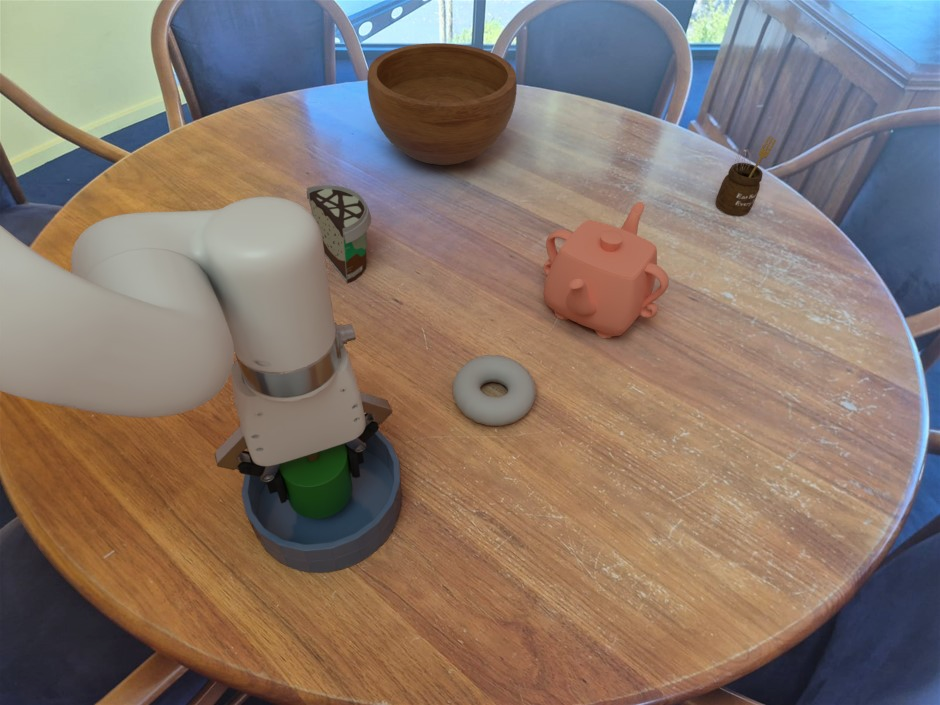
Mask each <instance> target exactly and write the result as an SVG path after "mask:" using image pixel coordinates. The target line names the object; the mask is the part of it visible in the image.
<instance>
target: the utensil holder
mask: <svg viewBox="0 0 940 705" xmlns="http://www.w3.org/2000/svg"><path fill="white" fill-rule="evenodd" d="M776 142H777V139H776V138H775V139H774V137H773V136H772V137H771V135H768V136H767V138H766V140H765V142H764V143H763V145H762V146H761V148H760V150H759V151H758V155H759V158H758V159H757V162H756V163H755V165H754V164H751V163H752V162H751V161H752V160H753V158H748V159H747V162H745V161H746V160H745V159H744V158H745V157H747V156H746V155H747V154H746V153H748V157H751V155H753V153H752V152H751V150H750V149H747V148H745V149H744V148H742V149H741V151H742V152H743V153H741V151H739V152H738V153H737V156H736V157H735V163H734V164H732V165H731V166H730V168H729V170H728V174H726V176H725V177H724V178H723V180H722V182H721V185H720V187H719V190H718V192H717V195H716V198H715V206H716V208H717V209H718V210H719V211H720V212H721V213H724V214H726V215H728V216H733V217H741V216H745V215H748V213H750V211H751V210H752V208H753V206H754V204H755V202H756V199H757V196H758V194H759V191H760V188H761V182H762V179H763V176H764V173H763V170H761V168H760V167H758V166H759V165H760V163H761V161H762V160H763V159H766V158H768V156H769V155H770V153H771V151H772V149H773V148H774V146H775V144H776ZM743 154H744V155H743ZM742 155H743V156H742ZM740 156H742V160H741V162H739V161H740V160H739V158H738V157H740Z"/></svg>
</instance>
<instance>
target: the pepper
mask: <svg viewBox="0 0 940 705" xmlns="http://www.w3.org/2000/svg"><path fill="white" fill-rule="evenodd" d="M279 470H280V474H281V477H282V480H283V483H284V487H285V490H286V493H287V497H288V501H289V503H290V505H291V507H292V508H293V510H294V511H295V512H296V513H298V514H299V515H301V516H303V517H306V518H310V519H322V518H326V517H330V516H332V515H334V514H336V513H337V512H339V511H340V510H341V509H343V508H344V506H345V505H346V504H347V503H348V501H349V499H350V497H351V494H352V487H353V486H352V479H351V473H350V466H349V460H348V453H347V449H346V446H345V444H341V445H338V446H335V447H332V448H328V449H325V450H322V451H319V452H316V453H313V454H310V455H307V456H303V457H300V458H297V459H294V460H291V461H287V462H284V463H281V464H280V466H279Z"/></svg>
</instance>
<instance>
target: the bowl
mask: <svg viewBox="0 0 940 705" xmlns="http://www.w3.org/2000/svg"><path fill="white" fill-rule="evenodd" d="M366 85H367V86H366V87H367V95H368V101H369V106H370V108H371V112H372V115H373V117H374V119H375V121H376V123H377V125H378V127H379V128H380V130H381V132H382V133H383V134H384V136H385V137H386V138H387V139H388V141H389V142H390V143H391V144H392V145H393V146H394V147H395V148H397V149H398V150H399V151H401V153H404V154H405V155H406V156H408V157H410V158H412V159H414V160H416V161H419V162H422V163H425V164H430V165H436V166H450V165H457V164H461V163H465V162H468V161H470V160H472V159H475V158H476V157H478V156H480V155H481V154H483V153H485V152H486V151H487V150H488V149H489V148H491V147H492V146H493V145H494V144H495V143H496V142H497V140H498V139H500V137H501V135H502V134H503V133H504V131H505V129H506V127H507V126H508V124H509V122H510V120H511V117H512V115H513V113H514V112H513V111H514V108H515V104H516V98H517V92H518V91H517V90H518V81H517V73H516V70H515V69H514V66H512V64H511V63H510V62H509V61H507V60H506V59H505V58H503V57H502V56H499V55H497V54H496V53H493V52H491V51H488V50H486V49H482V48H479V47H475V46H470V45H464V44H457V43H456V44H455V43H445V42H438V43H437V42H433V43H432V42H430V43H418V44H411V45H406V46H402V47H398V48H395V49H391V50H389V51H386V52H384V53H383V54H381V55H379V56H377V57H376V58H375V59H374V60H373V61H372V62H371V63H370V65H369V67H368V69H367V84H366Z"/></svg>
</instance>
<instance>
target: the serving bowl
mask: <svg viewBox="0 0 940 705" xmlns="http://www.w3.org/2000/svg"><path fill="white" fill-rule="evenodd" d="M365 444H366V449H365V450H364V451H363V458H364V463H362V464H359V470H360V477H358V478H355V477H354V478H353V477H352V474H351V479H352V486H353V487H352V494H351V497H350V499H349V501H348V503H347V504H346V505H345V506H344V508H343V509H341V510H340V511H339V512H337V513H336V514H334V515H332V516H330V517H326V518H322V519H310V518H306V517H303V516H301V515H299V514H298V513H296V512H295V511H294V510H293V508H292V507H291V505H290V503H289V501H288V500H286V502H284V503H281V501H280V498H279V495H278V492H274V493H271V494H270V492H269V489H268V486H267V483H266V482H262V481H261V477H258V476H252V475H247V474H243V482H242V487H241V498H242V503H243V508H244V512H245V516H246V517H247V519H248V522H249V524H250V527H251V528H252V531H253V532H254V535H255V537H256V538H257V540H258V541H259V543H260V545H261V546H262V547H263V549H264V550H265V551H266V553H267V554H268V555H269V556H270V557H271V558H273V559H274V560H276V561H277V562H278V563H279V564H282V565H283V566H285V567H287V568H289V569H292V570H295V571H298V572H303V573H311V574H313V573H314V574H323V573H324V574H325V573H333V572H338V571H341V570H344V569H348V568H351V567H352V566H355V565H357V564H359V563H361V562H363V561H364V560H366V559H368V558H369V557H370V556H372V555H373V554H374V553H375V552H377V551H378V550H379V549H380V548H381V547H382V546H383V545H384V544H385V543H386V541H387V539H389V538H390V536H391V534H392V532H393V531H394V530H395V528H396V525H397V523H398V521H399V517H400V514H401V511H402V510H401V509H402V505H403V499H402V498H403V496H402V480H401V479H402V478H401V476H402V475H401V465H400V464H401V463H400V459H399V458H398V457H399V456H397V453H396V451H395V448H394V446H393V444H392V442H391V441H390V440H389V439H388V438H387V437H386V436H385V435H384V434H383V433H382V432H381V431H380V429H378V431H377V432H376V433H375V434H374V435H373V436H372V437H371V438H370V439H369V440H368V441H367V442H366V443H365ZM350 473H351V471H350Z"/></svg>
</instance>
